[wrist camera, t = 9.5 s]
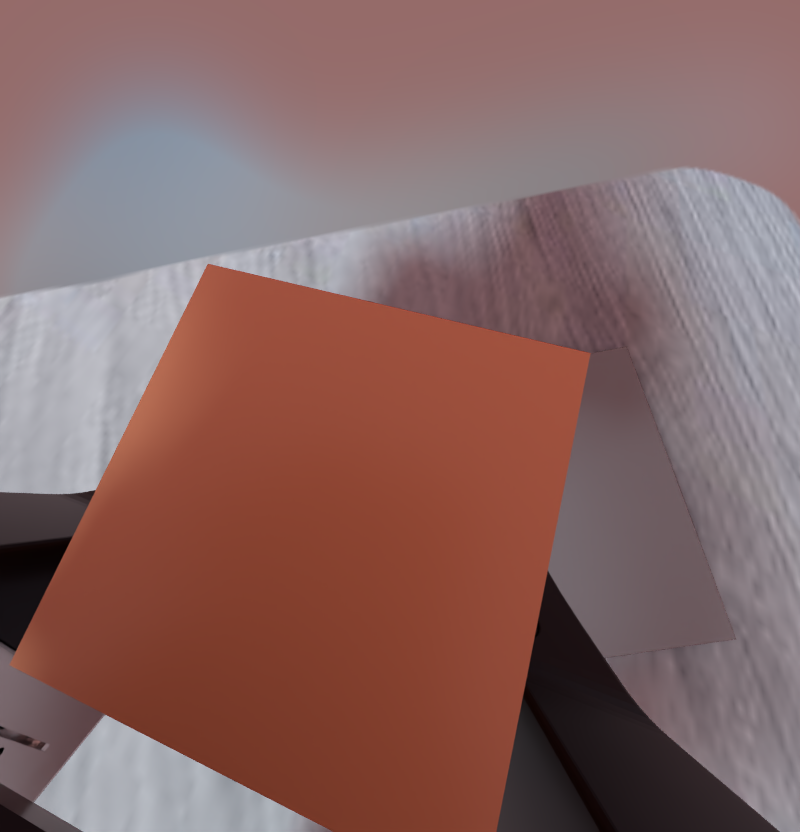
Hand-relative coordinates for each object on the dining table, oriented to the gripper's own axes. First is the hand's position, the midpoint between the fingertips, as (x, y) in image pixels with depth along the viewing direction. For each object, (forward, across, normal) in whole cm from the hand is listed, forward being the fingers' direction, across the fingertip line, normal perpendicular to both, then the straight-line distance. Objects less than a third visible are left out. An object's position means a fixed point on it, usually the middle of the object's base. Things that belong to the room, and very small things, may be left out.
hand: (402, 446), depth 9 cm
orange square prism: (+4, 0, +6) cm, 7 cm away
